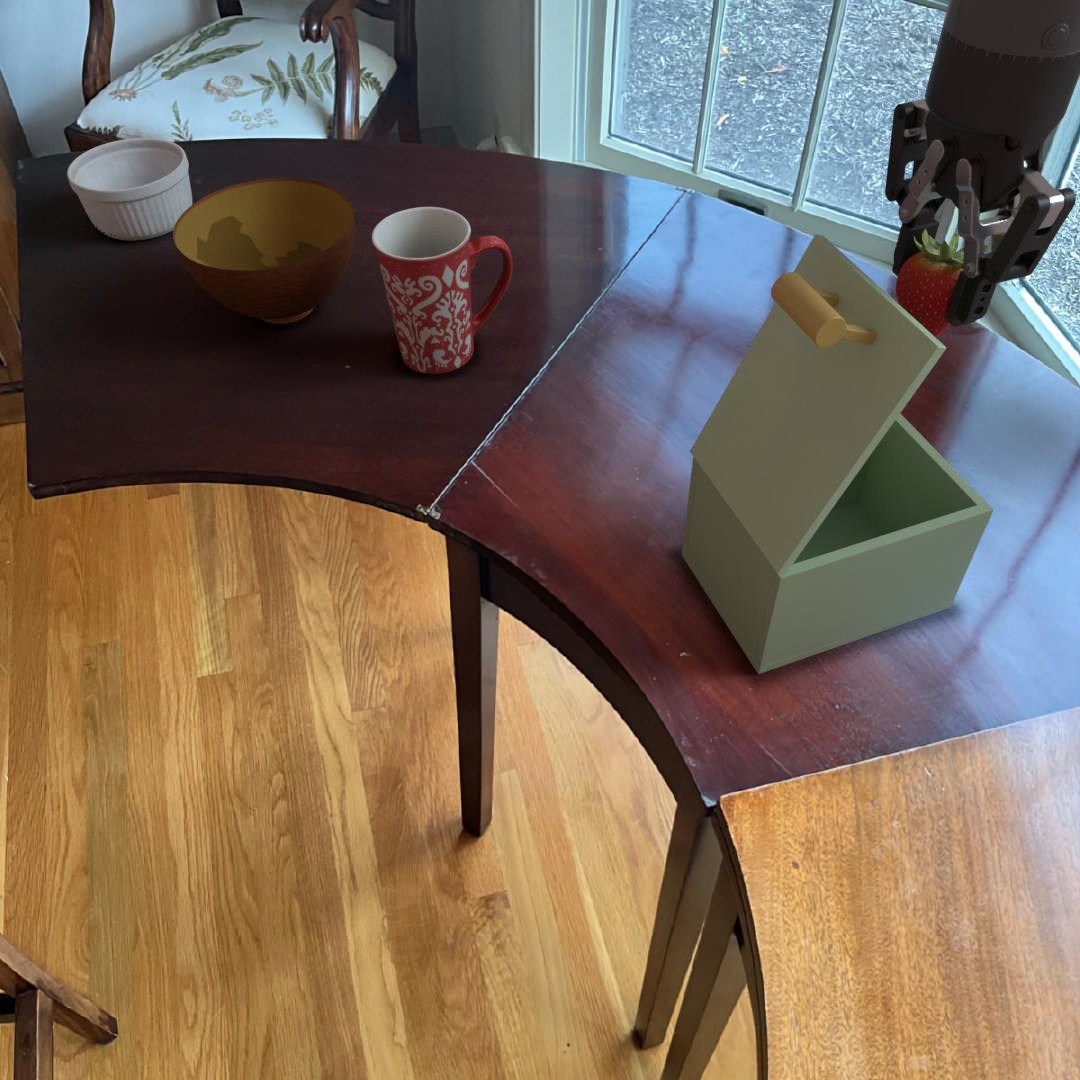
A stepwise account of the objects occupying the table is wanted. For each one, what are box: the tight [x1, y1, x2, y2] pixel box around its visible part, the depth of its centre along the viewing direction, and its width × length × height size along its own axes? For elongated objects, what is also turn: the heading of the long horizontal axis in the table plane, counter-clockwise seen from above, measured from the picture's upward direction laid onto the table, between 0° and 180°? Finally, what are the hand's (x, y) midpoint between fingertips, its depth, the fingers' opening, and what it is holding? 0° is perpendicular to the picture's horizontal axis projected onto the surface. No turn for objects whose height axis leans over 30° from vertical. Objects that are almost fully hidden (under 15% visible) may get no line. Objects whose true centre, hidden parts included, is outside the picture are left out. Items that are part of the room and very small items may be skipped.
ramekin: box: [66, 137, 193, 241], centre depth 117 cm, size 13×13×7 cm
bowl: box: [172, 177, 356, 325], centre depth 102 cm, size 18×18×10 cm
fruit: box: [895, 228, 988, 338], centre depth 65 cm, size 5×5×8 cm
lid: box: [689, 233, 947, 574], centre depth 62 cm, size 17×13×5 cm
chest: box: [681, 413, 995, 675], centre depth 74 cm, size 17×13×11 cm
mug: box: [371, 206, 514, 375], centre depth 95 cm, size 13×9×14 cm
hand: (933, 295), depth 65 cm, fingers closed on fruit, 5 cm apart
